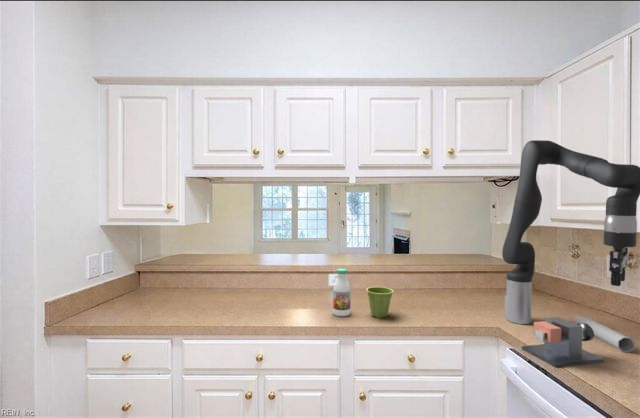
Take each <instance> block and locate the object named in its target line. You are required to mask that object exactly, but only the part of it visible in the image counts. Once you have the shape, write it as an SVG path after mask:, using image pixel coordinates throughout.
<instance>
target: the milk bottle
mask: <svg viewBox="0 0 640 418" xmlns="http://www.w3.org/2000/svg"><path fill="white" fill-rule="evenodd" d="M347 275H348V270H347V268H337V269H336V279H335V282H334V284H333V288H332V289H333V291H332V313H333V315H334V316H336V317H347V316H350V314H351V285H350V284H349V281H348V277H347Z"/></svg>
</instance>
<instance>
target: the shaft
mask: <svg viewBox="0 0 640 418" xmlns="http://www.w3.org/2000/svg"><path fill="white" fill-rule="evenodd" d="M577 325H580V326H582V342H590V341H593V339H594V337H595V336H594V332H593V330H592V328H591V327H590V326H589V325H588V324H586V323H578V324H577ZM561 334H562V331H561ZM534 336H535V337H534V338H535V340H537V341H539V342H542V343H544V342H548V341H547V333H545V332H543V331H541V330H538V329H537V330H535V335H534Z"/></svg>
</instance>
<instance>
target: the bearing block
mask: <svg viewBox="0 0 640 418" xmlns="http://www.w3.org/2000/svg"><path fill="white" fill-rule="evenodd" d="M544 321H545V322H547V323H550V324H552V325H554V326H557V327H559V328H561V331H562V334H561V342H543V343H544V344H543V343H542V344H533V345H532V344H531V345H523V346H521V349H522V351H524V352H526V353H529V354H530V355H532V356H534V357H535V358H537V359H539V360H541V361H543V362H545V363H547V364H548V365H550V366H552V367H554V368H561V367H569V366H571V367H572V366H579V365H580V366H581V365H588V364H595V363H597V364H598V363H604V361H605V360H604V358H603V357H601V356H598V355H597V354H594V353H592V352H590V351H587V350H585V349H583V341H582V326H580V325H577V324H575V322H573V321H569V320H567V319H565V318H561V317H559V316H552V317H551V316H550V317H544Z"/></svg>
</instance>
